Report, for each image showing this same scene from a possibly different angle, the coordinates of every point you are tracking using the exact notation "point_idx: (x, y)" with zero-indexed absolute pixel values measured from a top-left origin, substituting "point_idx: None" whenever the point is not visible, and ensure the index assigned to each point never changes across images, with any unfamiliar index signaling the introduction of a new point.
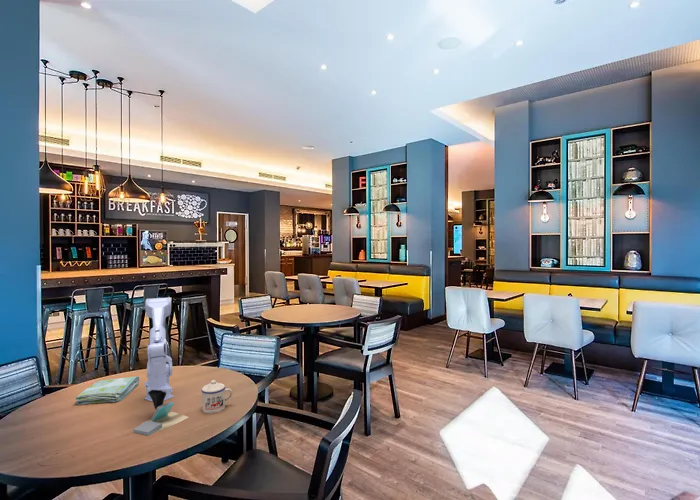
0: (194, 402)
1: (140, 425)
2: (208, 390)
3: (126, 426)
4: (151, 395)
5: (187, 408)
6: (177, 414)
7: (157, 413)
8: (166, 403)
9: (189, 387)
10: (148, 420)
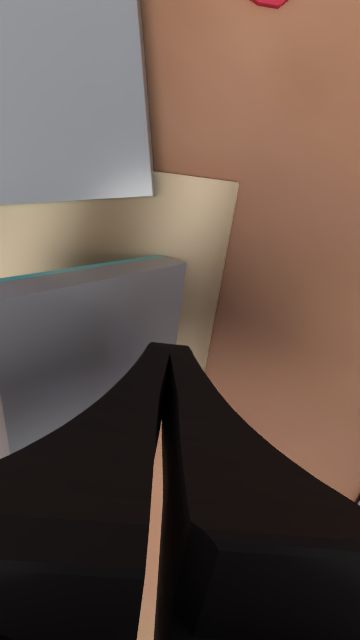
0: (148, 535)
1: (130, 73)
2: None
3: (350, 84)
4: (217, 477)
5: None
6: None
7: (47, 273)
8: (2, 428)
9: None
10: (217, 257)
